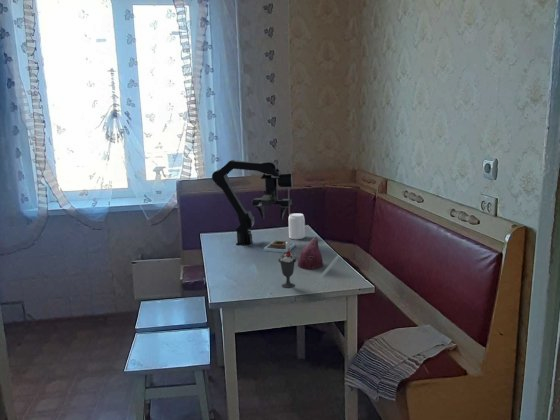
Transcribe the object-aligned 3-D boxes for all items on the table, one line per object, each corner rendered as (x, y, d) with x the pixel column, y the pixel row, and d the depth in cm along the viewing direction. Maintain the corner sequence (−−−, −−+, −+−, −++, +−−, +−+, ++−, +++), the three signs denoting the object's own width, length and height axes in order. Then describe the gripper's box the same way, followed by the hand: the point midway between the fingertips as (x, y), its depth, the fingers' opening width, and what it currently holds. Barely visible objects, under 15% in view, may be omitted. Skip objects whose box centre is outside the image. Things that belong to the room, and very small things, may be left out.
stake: (278, 260, 216) (277, 243, 214) (283, 255, 222) (283, 239, 220) (293, 261, 213) (292, 244, 212) (298, 256, 220) (297, 240, 218)
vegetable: (323, 272, 207) (333, 238, 205) (317, 277, 198) (327, 241, 195) (300, 264, 211) (309, 231, 208) (293, 269, 201) (302, 233, 198)
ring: (275, 246, 234) (275, 240, 234) (288, 247, 232) (288, 241, 232) (269, 251, 227) (269, 244, 227) (283, 252, 225) (282, 245, 225)
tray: (263, 252, 227) (263, 248, 227) (272, 246, 238) (272, 241, 237) (287, 254, 223) (287, 249, 223) (295, 247, 234) (295, 243, 233)
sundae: (291, 290, 180) (290, 250, 177) (276, 287, 183) (274, 248, 180) (300, 284, 185) (299, 245, 182) (285, 281, 189) (284, 243, 186)
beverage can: (305, 239, 247) (304, 216, 245) (289, 240, 247) (288, 216, 245) (304, 235, 255) (304, 212, 253) (289, 236, 255) (288, 213, 253)
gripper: (246, 190, 232) (248, 222, 235) (283, 191, 226) (285, 224, 229) (255, 186, 242) (256, 217, 245) (291, 187, 236) (292, 219, 239)
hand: (272, 219), depth 239 cm, fingers open, 9 cm apart
